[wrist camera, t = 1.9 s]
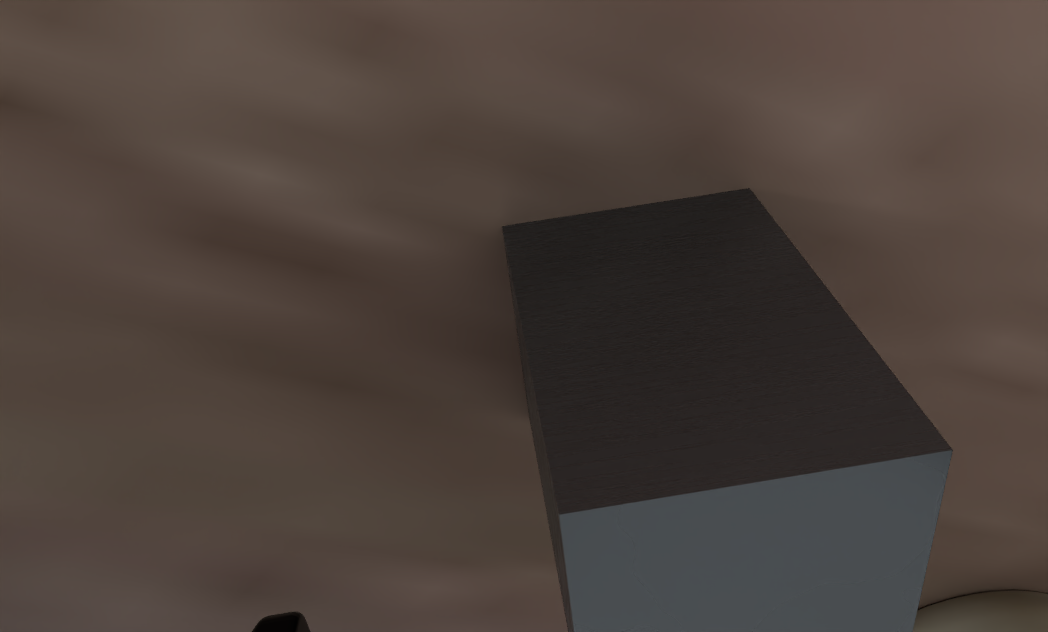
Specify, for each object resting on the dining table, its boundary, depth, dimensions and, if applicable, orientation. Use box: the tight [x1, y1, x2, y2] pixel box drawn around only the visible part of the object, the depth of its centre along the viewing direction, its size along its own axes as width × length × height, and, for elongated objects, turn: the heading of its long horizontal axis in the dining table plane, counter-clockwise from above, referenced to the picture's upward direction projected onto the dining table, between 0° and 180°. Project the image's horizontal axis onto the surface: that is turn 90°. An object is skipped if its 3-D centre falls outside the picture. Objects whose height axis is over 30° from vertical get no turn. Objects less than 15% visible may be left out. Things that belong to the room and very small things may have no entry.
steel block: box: [502, 188, 953, 632], centre depth 11 cm, size 4×4×6 cm
